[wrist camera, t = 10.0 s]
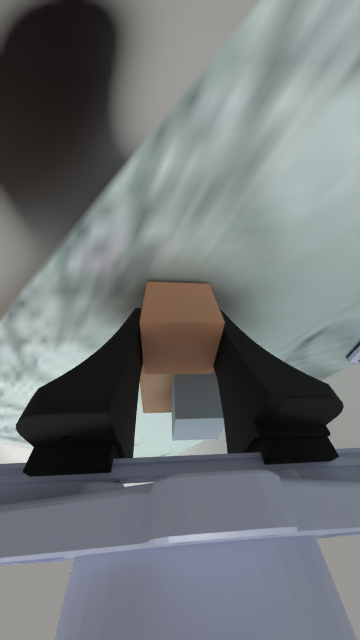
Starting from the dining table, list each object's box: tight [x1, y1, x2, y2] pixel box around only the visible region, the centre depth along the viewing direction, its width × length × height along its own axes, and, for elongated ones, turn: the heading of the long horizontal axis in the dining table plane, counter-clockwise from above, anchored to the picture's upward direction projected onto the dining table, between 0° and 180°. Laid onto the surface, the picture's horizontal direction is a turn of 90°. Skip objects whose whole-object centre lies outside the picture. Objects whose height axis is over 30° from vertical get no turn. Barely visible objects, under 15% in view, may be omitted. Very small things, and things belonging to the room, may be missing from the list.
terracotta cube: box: [140, 282, 225, 374], centre depth 11 cm, size 4×4×4 cm
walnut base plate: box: [140, 365, 215, 413], centre depth 19 cm, size 10×10×1 cm
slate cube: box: [172, 373, 224, 440], centre depth 17 cm, size 4×4×4 cm
